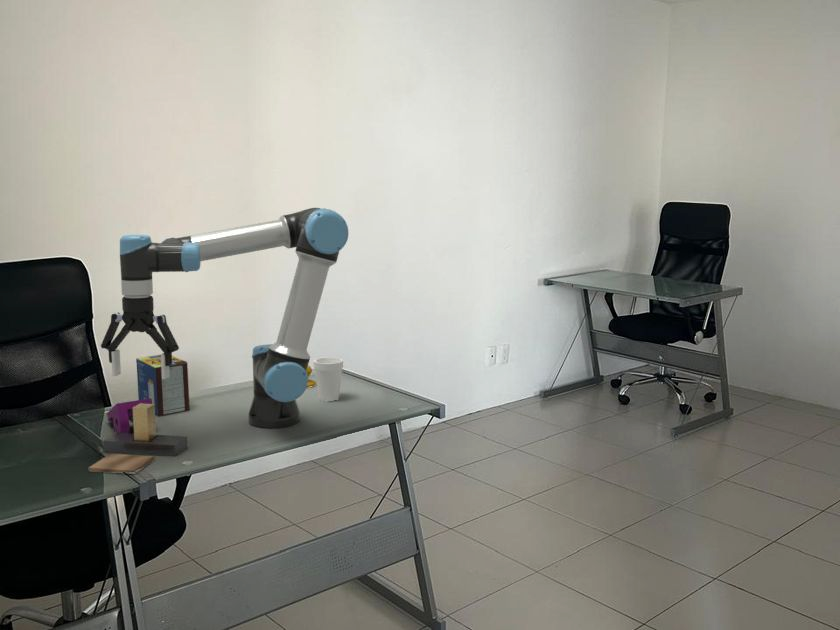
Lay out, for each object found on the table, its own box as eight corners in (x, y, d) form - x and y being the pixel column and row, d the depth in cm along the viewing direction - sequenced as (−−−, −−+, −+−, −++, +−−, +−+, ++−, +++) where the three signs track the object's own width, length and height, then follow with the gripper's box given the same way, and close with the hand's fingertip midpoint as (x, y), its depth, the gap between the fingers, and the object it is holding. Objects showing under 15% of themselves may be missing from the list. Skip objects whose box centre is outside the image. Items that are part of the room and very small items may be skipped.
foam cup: (341, 403, 248) (341, 364, 246) (312, 403, 248) (312, 363, 246) (344, 395, 257) (344, 357, 255) (316, 394, 258) (316, 357, 255)
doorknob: (287, 386, 268) (302, 381, 275) (305, 389, 264) (320, 384, 271) (287, 365, 267) (302, 361, 273) (304, 368, 263) (320, 364, 269)
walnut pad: (154, 460, 197) (154, 456, 196) (134, 474, 187) (134, 470, 187) (110, 457, 198) (110, 453, 198) (88, 471, 189) (88, 467, 188)
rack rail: (187, 447, 206) (187, 436, 206) (175, 456, 199) (175, 445, 199) (117, 442, 209) (117, 432, 209) (103, 451, 202) (102, 440, 202)
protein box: (170, 399, 250) (167, 353, 248) (190, 410, 239) (188, 361, 236) (137, 405, 244) (135, 357, 241) (157, 417, 232) (154, 367, 229)
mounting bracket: (108, 443, 226) (121, 433, 211) (104, 415, 227) (116, 403, 213) (141, 437, 231) (156, 427, 217) (136, 410, 233) (151, 398, 218)
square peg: (156, 447, 206) (154, 404, 204) (149, 452, 202) (147, 408, 200) (142, 446, 206) (140, 403, 204) (135, 451, 203) (132, 407, 201)
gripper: (190, 295, 199) (192, 375, 203) (100, 291, 203) (104, 370, 206) (176, 299, 192) (179, 382, 195) (84, 295, 195) (88, 377, 199)
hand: (141, 376), depth 201 cm, fingers open, 13 cm apart
